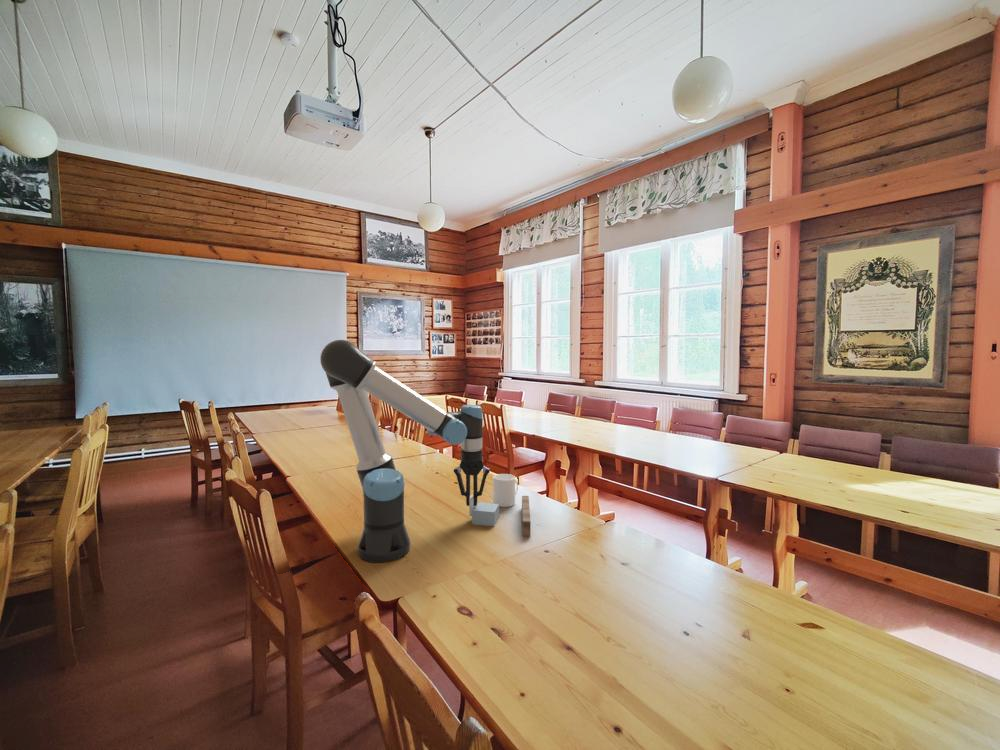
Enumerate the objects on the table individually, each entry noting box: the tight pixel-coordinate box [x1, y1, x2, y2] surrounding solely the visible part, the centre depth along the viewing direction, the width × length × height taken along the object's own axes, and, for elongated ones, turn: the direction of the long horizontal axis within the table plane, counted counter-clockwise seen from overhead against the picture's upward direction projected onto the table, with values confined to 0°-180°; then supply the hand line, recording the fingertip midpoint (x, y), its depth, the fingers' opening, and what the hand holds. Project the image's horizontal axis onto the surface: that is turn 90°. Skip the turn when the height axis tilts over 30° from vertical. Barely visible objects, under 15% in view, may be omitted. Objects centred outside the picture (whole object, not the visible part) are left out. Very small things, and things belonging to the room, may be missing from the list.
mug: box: [492, 473, 519, 508], centre depth 168 cm, size 9×12×11 cm
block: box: [471, 501, 500, 527], centre depth 151 cm, size 8×8×5 cm
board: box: [521, 495, 531, 537], centre depth 150 cm, size 24×2×5 cm, turn 178°
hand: (471, 514), depth 151 cm, fingers closed
